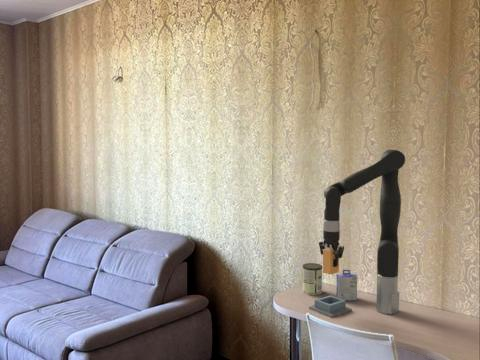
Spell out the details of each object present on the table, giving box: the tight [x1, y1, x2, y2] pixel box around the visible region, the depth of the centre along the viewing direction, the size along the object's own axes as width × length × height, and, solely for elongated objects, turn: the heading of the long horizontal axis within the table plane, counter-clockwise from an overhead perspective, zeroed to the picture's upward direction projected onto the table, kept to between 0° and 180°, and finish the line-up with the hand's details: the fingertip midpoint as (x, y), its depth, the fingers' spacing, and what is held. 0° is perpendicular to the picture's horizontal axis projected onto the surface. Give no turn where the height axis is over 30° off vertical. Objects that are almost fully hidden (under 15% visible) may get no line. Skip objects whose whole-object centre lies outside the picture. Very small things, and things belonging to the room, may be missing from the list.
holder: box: [308, 294, 352, 318], centre depth 216 cm, size 14×14×4 cm
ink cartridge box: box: [335, 269, 358, 301], centre depth 231 cm, size 10×6×14 cm, turn 89°
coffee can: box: [302, 262, 323, 296], centre depth 241 cm, size 10×10×14 cm
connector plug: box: [322, 247, 340, 276], centre depth 214 cm, size 4×6×12 cm
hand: (330, 265), depth 214 cm, fingers closed on connector plug, 4 cm apart
